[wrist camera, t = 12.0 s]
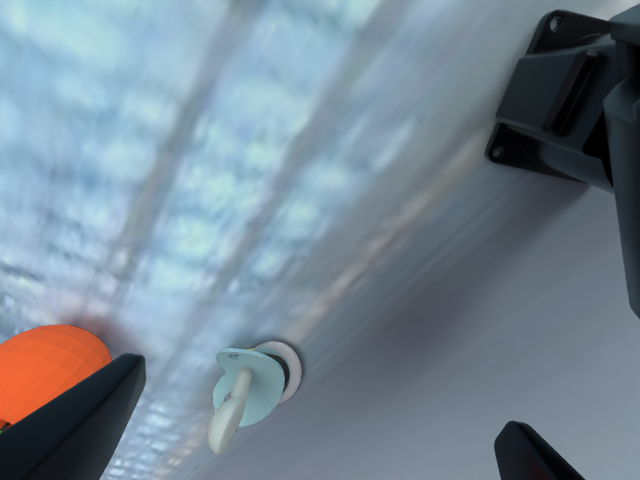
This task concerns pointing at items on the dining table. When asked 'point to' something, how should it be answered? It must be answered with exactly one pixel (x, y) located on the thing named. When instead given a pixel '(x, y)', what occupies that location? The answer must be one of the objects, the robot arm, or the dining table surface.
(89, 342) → the clementine
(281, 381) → the pacifier
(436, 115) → the dining table surface
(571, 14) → the robot arm
